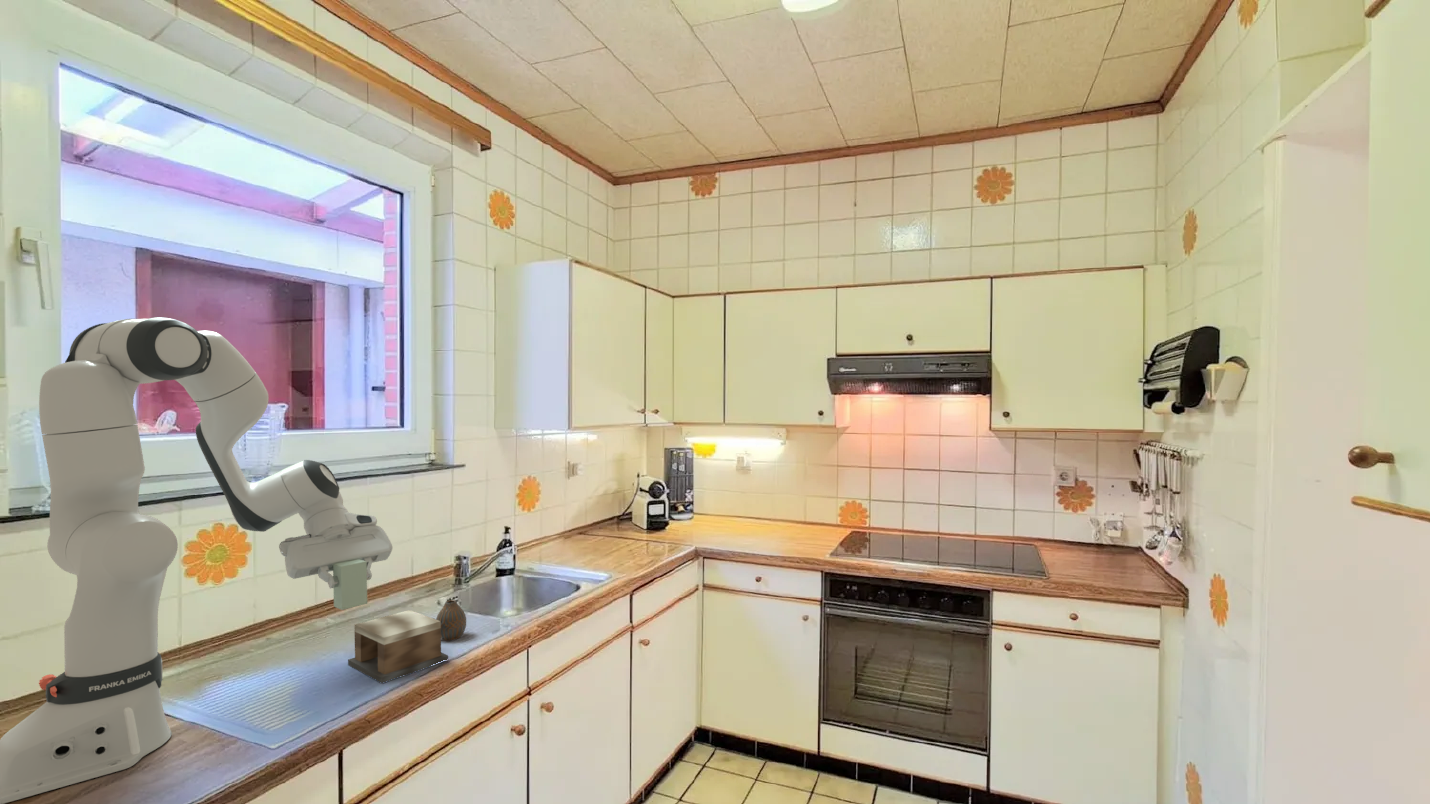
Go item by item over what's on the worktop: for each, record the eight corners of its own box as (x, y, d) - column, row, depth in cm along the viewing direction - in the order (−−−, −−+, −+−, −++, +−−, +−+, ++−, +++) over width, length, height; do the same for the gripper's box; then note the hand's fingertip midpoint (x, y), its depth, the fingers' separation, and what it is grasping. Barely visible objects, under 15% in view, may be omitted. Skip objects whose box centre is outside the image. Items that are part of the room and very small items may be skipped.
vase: (457, 630, 157) (456, 595, 157) (472, 636, 152) (471, 600, 152) (430, 639, 151) (429, 602, 151) (444, 645, 147) (443, 607, 147)
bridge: (381, 683, 126) (381, 640, 127) (348, 665, 136) (347, 624, 136) (447, 660, 137) (447, 620, 138) (412, 645, 147) (411, 608, 147)
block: (342, 610, 130) (341, 566, 130) (333, 606, 132) (332, 564, 132) (367, 603, 134) (366, 561, 134) (359, 600, 136) (358, 559, 136)
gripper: (280, 530, 129) (300, 585, 123) (382, 515, 145) (404, 562, 139) (272, 549, 132) (291, 604, 126) (374, 532, 148) (395, 580, 142)
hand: (351, 582), depth 133 cm, fingers closed on block, 5 cm apart
